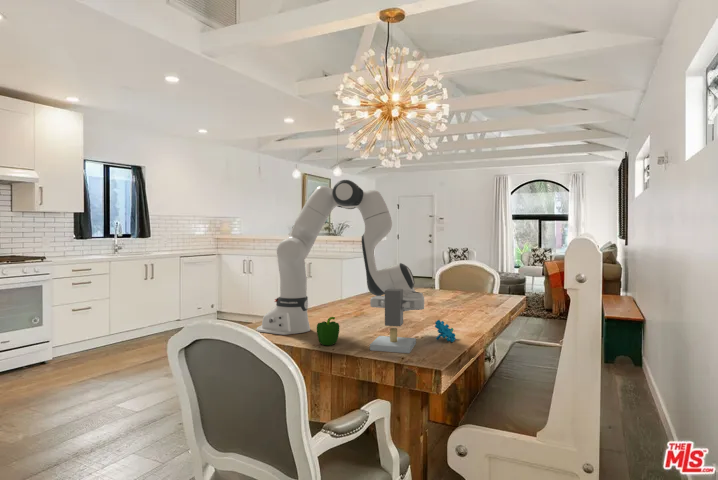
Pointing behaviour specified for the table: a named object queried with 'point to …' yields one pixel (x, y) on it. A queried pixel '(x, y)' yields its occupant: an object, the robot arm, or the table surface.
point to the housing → (393, 307)
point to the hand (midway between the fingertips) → (393, 305)
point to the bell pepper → (328, 332)
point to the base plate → (393, 343)
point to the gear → (444, 331)
